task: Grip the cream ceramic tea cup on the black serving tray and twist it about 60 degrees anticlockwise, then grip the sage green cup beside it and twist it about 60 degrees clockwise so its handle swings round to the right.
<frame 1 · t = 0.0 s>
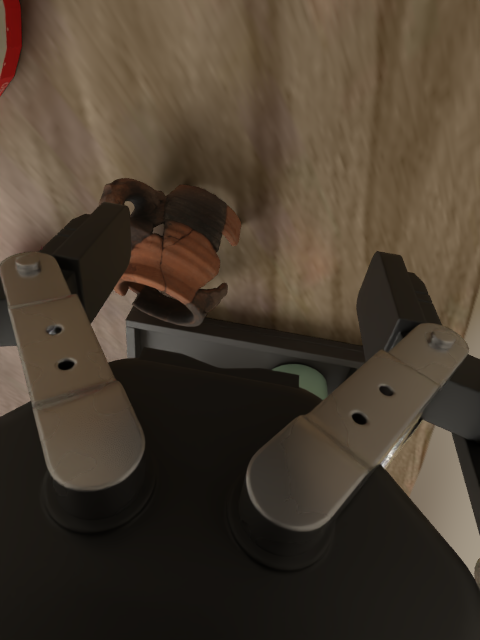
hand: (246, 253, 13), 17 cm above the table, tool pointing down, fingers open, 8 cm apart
tray: (236, 389, 43), on the table
green cup: (308, 419, 37), point 5 cm above the table, hinge at 0.0°
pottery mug: (178, 229, 33), on the table
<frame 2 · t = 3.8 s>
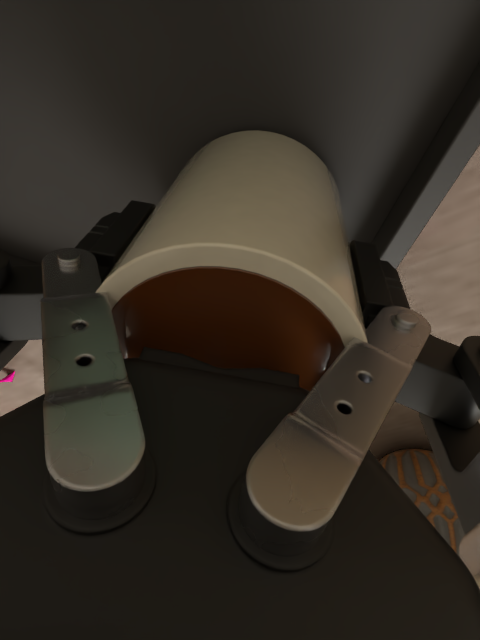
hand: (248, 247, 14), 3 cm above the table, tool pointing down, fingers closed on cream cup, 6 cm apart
tray: (200, 47, 13), on the table
vase: (409, 464, 26), on the table
cream cup: (236, 312, 13), point 5 cm above the table, hinge at 0.0°, touching gripper
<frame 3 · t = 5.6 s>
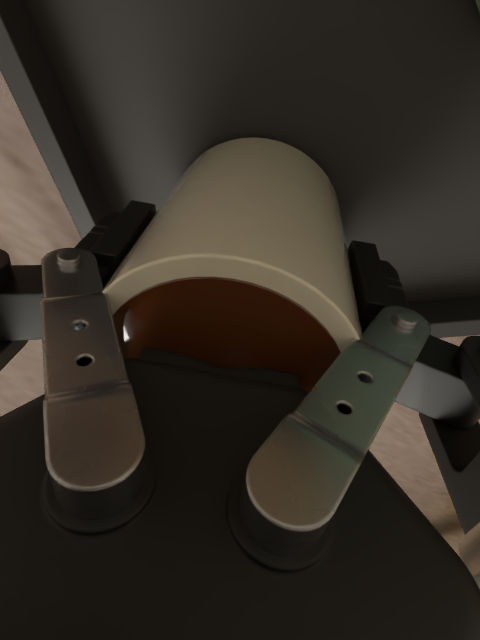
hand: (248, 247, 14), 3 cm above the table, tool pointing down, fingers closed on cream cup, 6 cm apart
tray: (371, 93, 13), on the table
cream cup: (231, 317, 13), point 5 cm above the table, hinge at 53.6°, touching gripper
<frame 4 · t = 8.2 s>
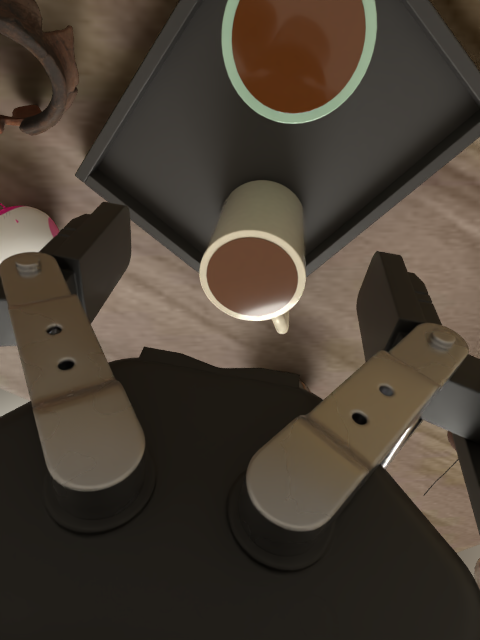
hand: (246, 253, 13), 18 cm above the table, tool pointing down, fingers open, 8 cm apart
tray: (271, 138, 28), on the table
green cup: (310, 2, 19), point 5 cm above the table, hinge at 0.0°
cream cup: (264, 264, 28), point 5 cm above the table, hinge at 53.6°
stress ball: (32, 226, 35), on the table
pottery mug: (4, 30, 26), on the table
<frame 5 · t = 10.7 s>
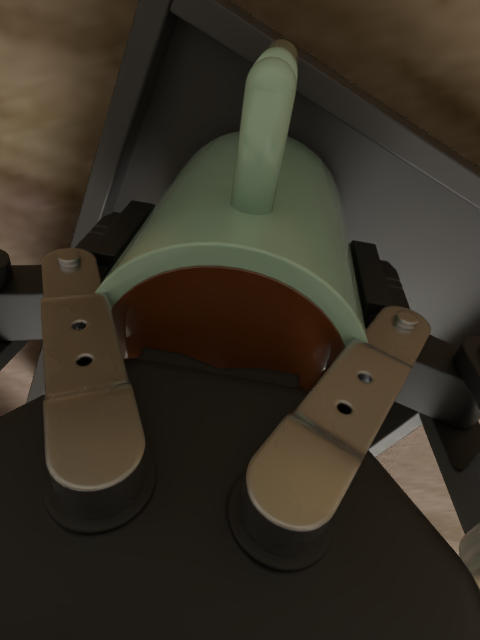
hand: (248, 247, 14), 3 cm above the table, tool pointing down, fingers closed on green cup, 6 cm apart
tray: (256, 330, 20), on the table
green cup: (249, 237, 11), point 5 cm above the table, hinge at 0.0°, touching gripper
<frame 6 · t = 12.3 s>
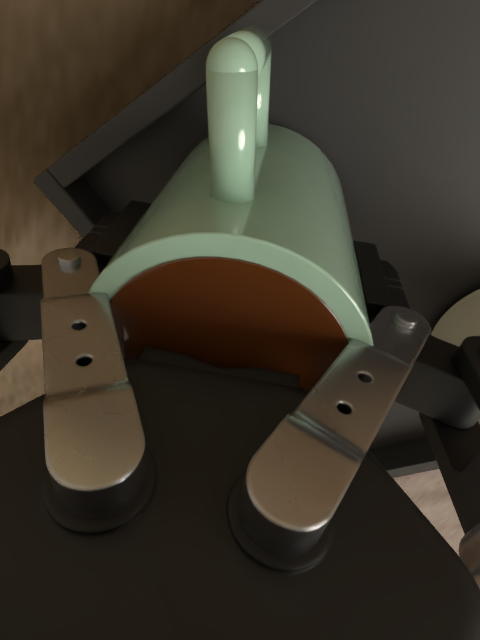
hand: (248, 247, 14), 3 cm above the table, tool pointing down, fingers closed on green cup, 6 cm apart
tray: (384, 278, 17), on the table
green cup: (243, 230, 11), point 5 cm above the table, hinge at -52.5°, touching gripper
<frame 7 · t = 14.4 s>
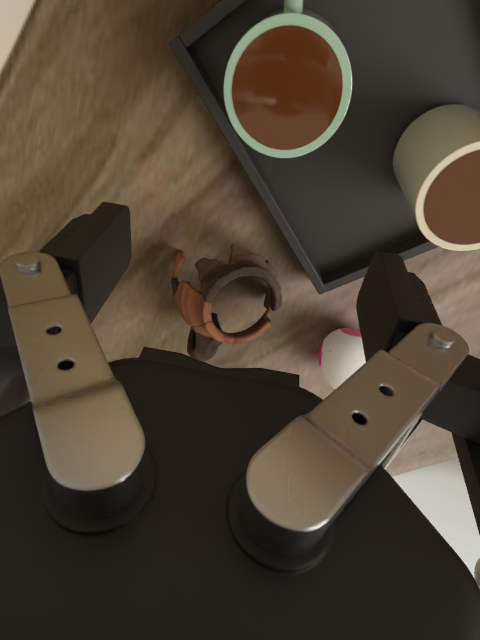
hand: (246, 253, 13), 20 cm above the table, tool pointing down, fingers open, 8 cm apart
tray: (366, 118, 29), on the table
green cup: (291, 51, 23), point 5 cm above the table, hinge at -52.5°
cream cup: (479, 173, 25), point 5 cm above the table, hinge at 53.6°
stress ball: (342, 343, 42), on the table
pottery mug: (223, 282, 39), on the table
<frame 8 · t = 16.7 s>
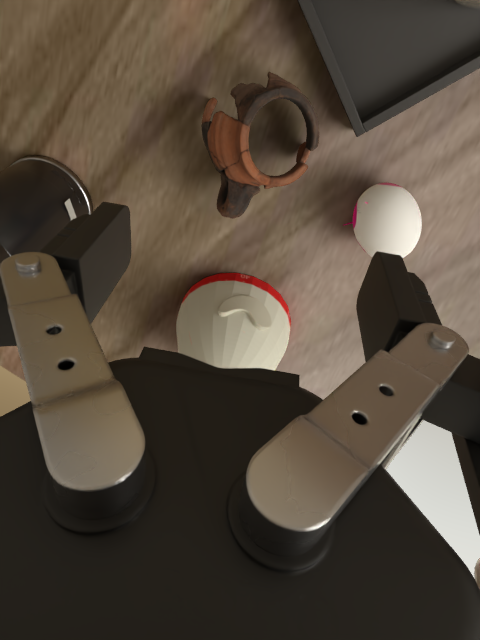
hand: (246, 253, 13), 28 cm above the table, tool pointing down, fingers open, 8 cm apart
kitchen timer: (235, 319, 51), on the table
stress ball: (375, 212, 41), on the table
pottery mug: (253, 140, 38), on the table
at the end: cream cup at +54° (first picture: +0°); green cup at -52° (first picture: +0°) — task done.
